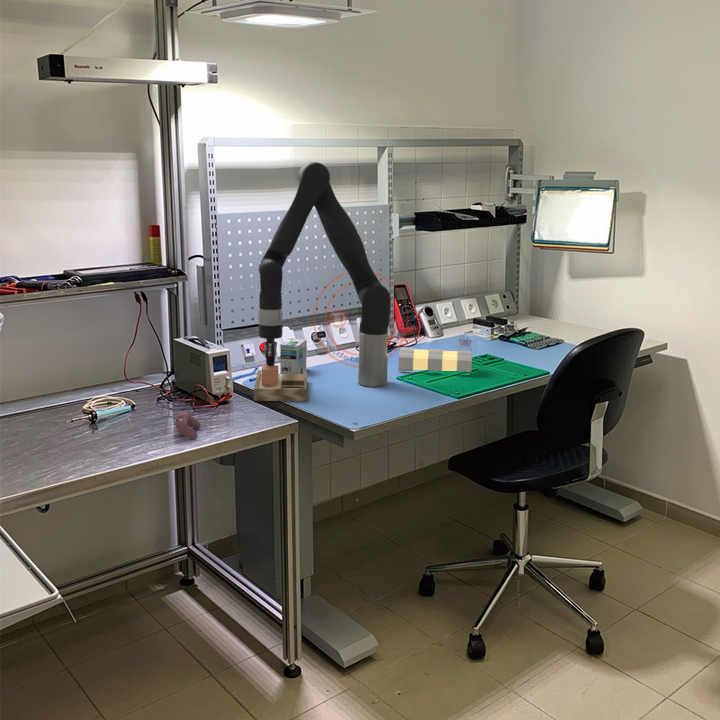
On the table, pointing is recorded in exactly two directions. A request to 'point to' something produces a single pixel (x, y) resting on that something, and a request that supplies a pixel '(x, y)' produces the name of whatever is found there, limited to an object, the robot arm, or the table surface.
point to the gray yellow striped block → (436, 359)
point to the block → (269, 375)
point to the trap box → (282, 388)
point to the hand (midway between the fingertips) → (270, 375)
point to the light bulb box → (293, 356)
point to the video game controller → (187, 424)
